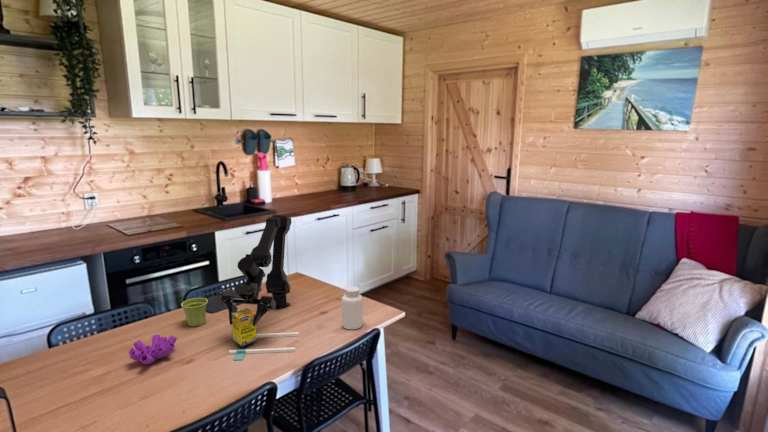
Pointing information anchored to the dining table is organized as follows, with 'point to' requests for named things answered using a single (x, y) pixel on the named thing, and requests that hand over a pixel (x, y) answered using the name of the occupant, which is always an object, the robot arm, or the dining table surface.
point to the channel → (241, 352)
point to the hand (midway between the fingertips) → (242, 325)
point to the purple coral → (152, 349)
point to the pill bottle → (352, 308)
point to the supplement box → (243, 327)
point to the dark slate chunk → (216, 305)
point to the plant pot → (195, 311)
